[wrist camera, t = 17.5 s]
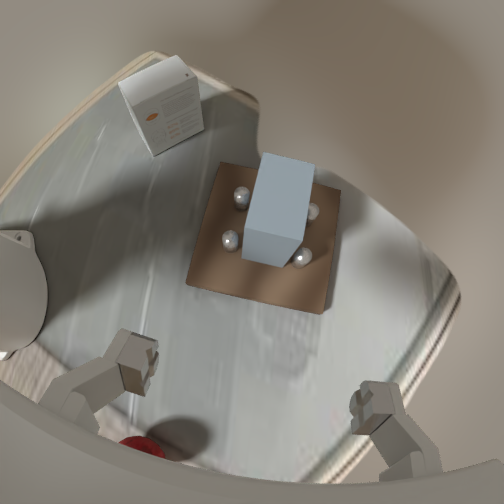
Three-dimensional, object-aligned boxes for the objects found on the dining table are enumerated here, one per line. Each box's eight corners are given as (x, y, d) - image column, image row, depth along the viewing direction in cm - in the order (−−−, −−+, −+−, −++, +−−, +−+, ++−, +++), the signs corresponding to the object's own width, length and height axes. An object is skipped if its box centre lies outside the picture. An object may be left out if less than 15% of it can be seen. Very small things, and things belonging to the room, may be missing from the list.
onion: (139, 418, 28) (114, 440, 21) (181, 446, 28) (167, 476, 20) (117, 449, 27) (91, 474, 19) (157, 476, 26) (140, 508, 19)
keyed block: (241, 258, 32) (244, 227, 22) (255, 200, 34) (263, 151, 24) (282, 267, 32) (302, 241, 22) (293, 209, 34) (315, 164, 24)
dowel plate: (187, 285, 33) (180, 278, 28) (221, 168, 36) (219, 148, 32) (319, 314, 33) (331, 312, 28) (337, 195, 36) (349, 179, 32)
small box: (187, 106, 39) (178, 52, 29) (205, 130, 38) (198, 75, 28) (137, 132, 37) (116, 81, 27) (152, 158, 36) (131, 107, 26)
